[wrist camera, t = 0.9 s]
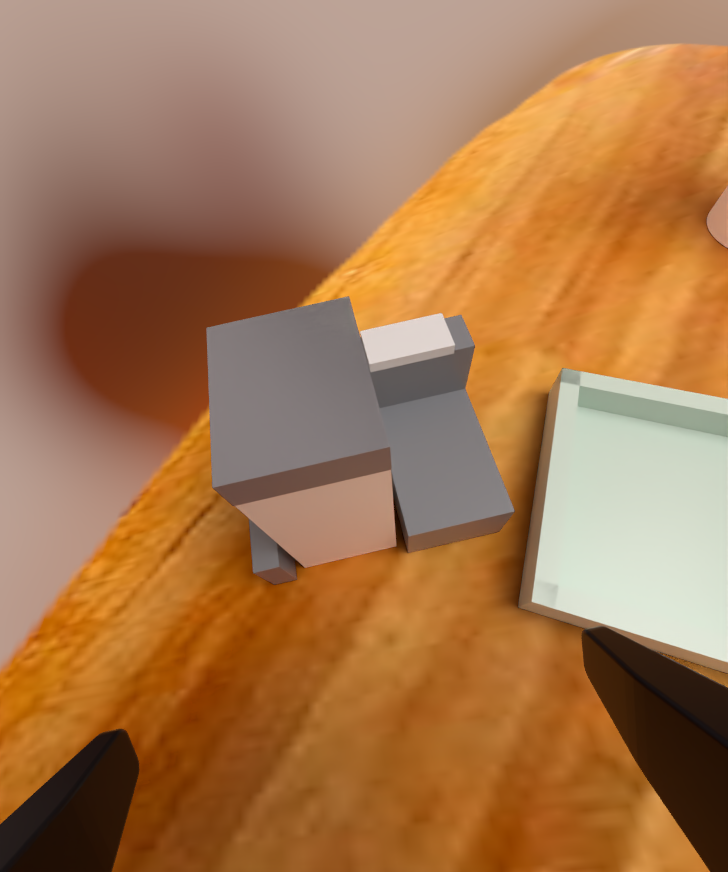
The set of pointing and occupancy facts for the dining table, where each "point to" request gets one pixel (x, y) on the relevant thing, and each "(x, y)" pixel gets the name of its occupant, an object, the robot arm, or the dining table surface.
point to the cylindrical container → (719, 219)
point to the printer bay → (422, 441)
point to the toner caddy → (301, 432)
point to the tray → (633, 515)
